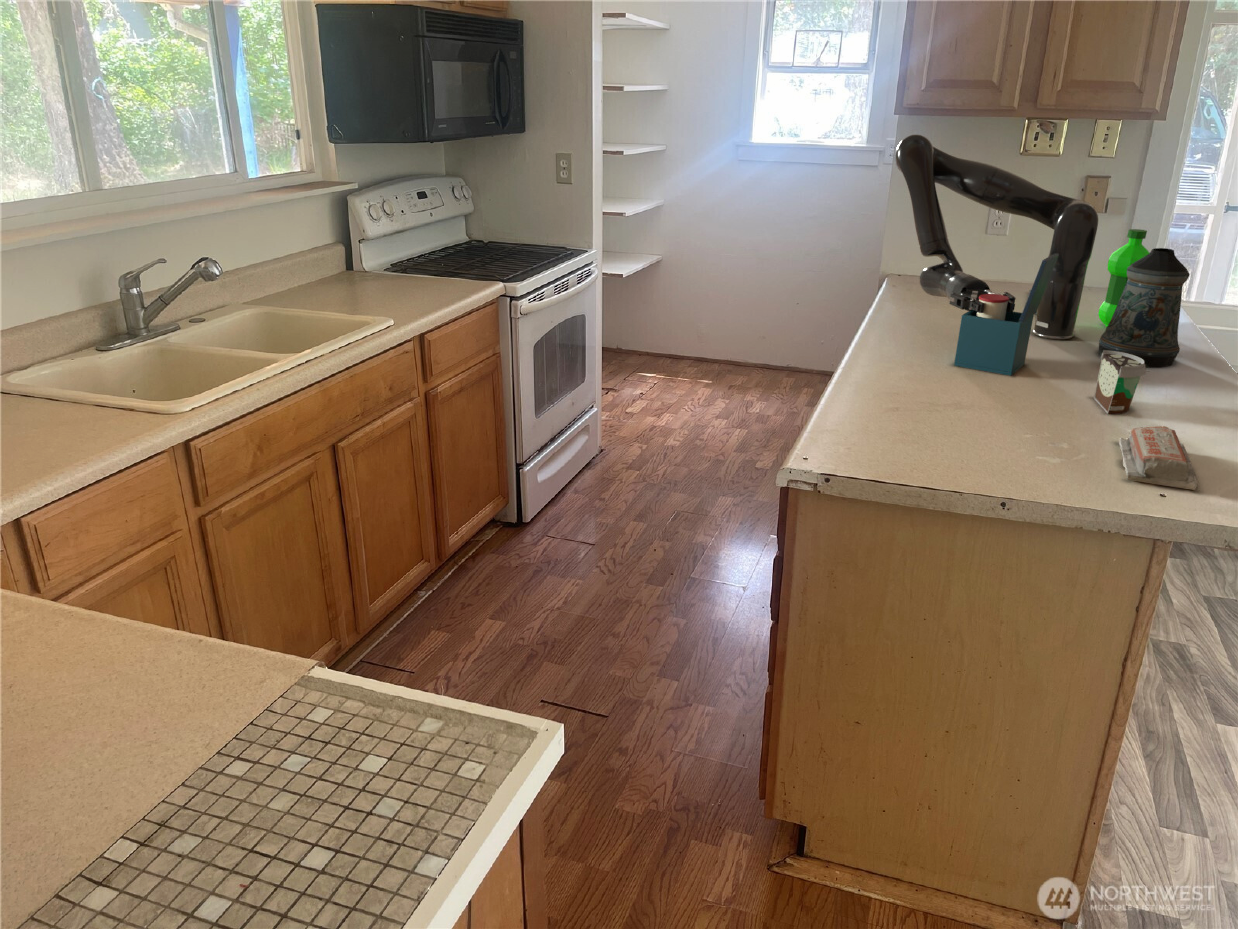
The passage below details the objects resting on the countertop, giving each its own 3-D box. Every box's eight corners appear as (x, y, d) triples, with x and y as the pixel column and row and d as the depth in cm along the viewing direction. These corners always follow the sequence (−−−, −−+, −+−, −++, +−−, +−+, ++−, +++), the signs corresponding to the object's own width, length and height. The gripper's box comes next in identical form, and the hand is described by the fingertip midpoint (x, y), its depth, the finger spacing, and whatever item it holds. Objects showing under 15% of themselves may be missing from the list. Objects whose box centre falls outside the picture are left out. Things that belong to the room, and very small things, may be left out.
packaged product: (1205, 464, 136) (1133, 454, 139) (1197, 492, 138) (1126, 482, 141) (1188, 426, 151) (1123, 418, 154) (1181, 451, 153) (1117, 443, 156)
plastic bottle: (1129, 333, 225) (1152, 234, 215) (1087, 325, 232) (1108, 230, 222) (1144, 326, 231) (1167, 230, 221) (1102, 319, 238) (1123, 226, 228)
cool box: (953, 365, 200) (961, 315, 195) (968, 355, 207) (976, 306, 203) (1010, 375, 193) (1020, 323, 188) (1024, 364, 200) (1033, 314, 195)
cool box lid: (1042, 259, 181) (1046, 261, 181) (1055, 252, 189) (1059, 253, 188) (1019, 320, 188) (1023, 322, 187) (1032, 311, 196) (1036, 312, 195)
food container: (1144, 418, 168) (1157, 369, 164) (1110, 416, 169) (1122, 367, 165) (1124, 398, 179) (1135, 350, 175) (1091, 396, 180) (1102, 349, 176)
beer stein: (1103, 364, 200) (1129, 254, 190) (1088, 342, 217) (1110, 240, 207) (1185, 370, 196) (1215, 258, 186) (1162, 347, 213) (1189, 244, 203)
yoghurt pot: (977, 335, 203) (984, 292, 198) (1004, 339, 199) (1012, 296, 195) (968, 341, 198) (975, 297, 194) (996, 345, 195) (1004, 301, 191)
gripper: (939, 276, 207) (968, 292, 191) (999, 275, 207) (1032, 291, 192) (935, 307, 210) (962, 325, 194) (993, 306, 210) (1026, 324, 195)
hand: (997, 308), depth 193 cm, fingers closed on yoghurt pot, 6 cm apart
